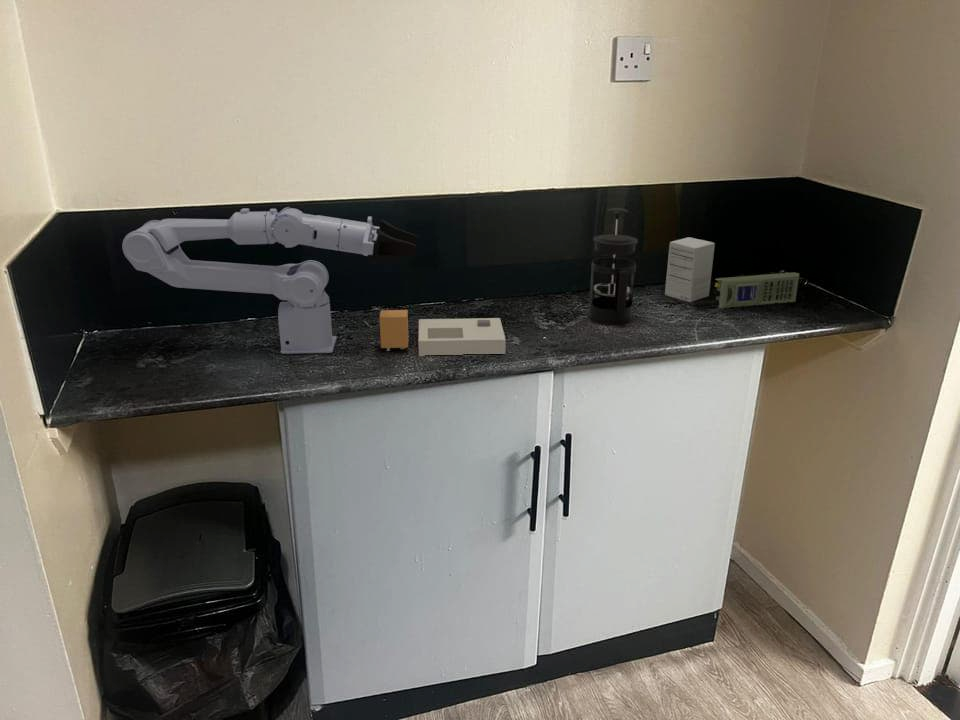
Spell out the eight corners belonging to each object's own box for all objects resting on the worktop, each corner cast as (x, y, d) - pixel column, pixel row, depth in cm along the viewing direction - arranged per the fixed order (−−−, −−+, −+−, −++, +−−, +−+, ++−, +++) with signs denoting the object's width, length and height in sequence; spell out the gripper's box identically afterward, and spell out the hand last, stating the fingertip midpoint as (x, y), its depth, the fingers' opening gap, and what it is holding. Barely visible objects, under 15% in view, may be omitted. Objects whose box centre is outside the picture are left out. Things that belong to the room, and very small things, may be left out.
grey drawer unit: (683, 289, 183) (688, 236, 178) (709, 296, 177) (716, 242, 173) (663, 295, 178) (668, 241, 173) (690, 302, 173) (696, 247, 168)
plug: (381, 353, 144) (379, 317, 141) (382, 345, 148) (380, 310, 145) (408, 352, 144) (407, 317, 142) (408, 344, 148) (407, 310, 145)
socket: (418, 356, 143) (418, 337, 141) (419, 333, 154) (418, 315, 152) (505, 354, 144) (505, 335, 142) (499, 332, 155) (500, 314, 153)
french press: (580, 311, 167) (587, 204, 158) (622, 308, 169) (630, 203, 160) (597, 329, 157) (605, 216, 148) (641, 327, 158) (652, 214, 149)
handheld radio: (797, 303, 174) (698, 312, 167) (788, 299, 177) (690, 308, 170) (801, 274, 171) (701, 282, 165) (792, 271, 174) (693, 278, 168)
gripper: (338, 220, 131) (418, 233, 132) (347, 205, 144) (420, 217, 146) (334, 261, 133) (412, 272, 135) (344, 242, 147) (415, 253, 148)
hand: (416, 246), depth 140 cm, fingers open, 7 cm apart
